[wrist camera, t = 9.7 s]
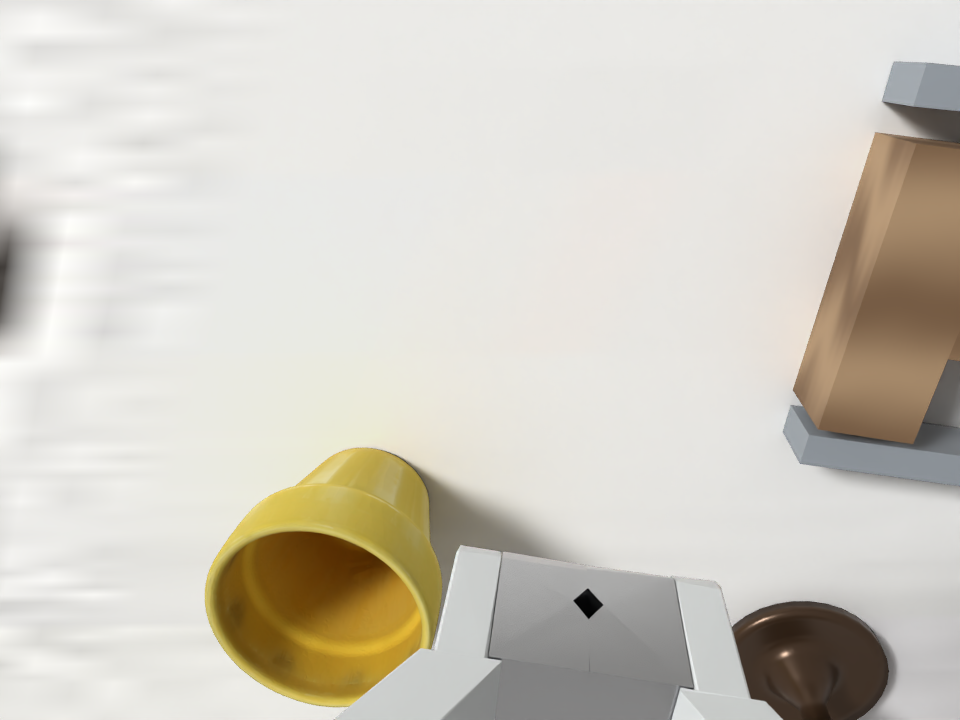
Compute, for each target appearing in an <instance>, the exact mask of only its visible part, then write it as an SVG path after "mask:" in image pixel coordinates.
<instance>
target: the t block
mask: <svg viewBox="0 0 960 720" xmlns="http://www.w3.org/2000/svg"><path fill="white" fill-rule="evenodd" d="M948 359H949V360H956V361H960V143H956V142H948V141H940V140H932V139H924V138H916V137H908V136H900V135H892V134H884V133H876V132H875V135H874V139H873V142H872V145H871V148H870V151H869V154H868V157H867V160H866V164H865V167H864V170H863V173H862V176H861V179H860V182H859V185H858V188H857V192H856V195H855V198H854V201H853V204H852V207H851V210H850V213H849V217H848V220H847V223H846V226H845V229H844V232H843V235H842V238H841V242H840V245H839V248H838V251H837V254H836V257H835V260H834V263H833V266H832V270H831V273H830V276H829V279H828V282H827V285H826V288H825V291H824V295H823V298H822V301H821V304H820V307H819V310H818V313H817V316H816V320H815V323H814V326H813V329H812V332H811V335H810V338H809V341H808V344H807V348H806V351H805V354H804V357H803V360H802V363H801V366H800V369H799V373H798V376H797V379H796V382H795V385H794V388H793V391H794V392H795V394H796V396H797V397H798V399H799V400H800V402H801V404H802V405H803V407H804V408H805V410H806V411H807V413H808V415H809V416H810V418H811V419H812V421H813V422H814V424H815V426H816V427H817V429H818V430H824V431H831V432H837V433H844V434H850V435H857V436H863V437H870V438H876V439H883V440H889V441H896V442H902V443H909V444H913V443H914V441H915V438H916V436H917V433H918V431H919V429H920V426H921V424H922V421H923V419H924V416H925V414H926V412H927V409H928V407H929V404H930V402H931V399H932V397H933V395H934V392H935V390H936V387H937V385H938V382H939V380H940V377H941V375H942V373H943V370H944V368H945V365H946V363H947V360H948Z"/></svg>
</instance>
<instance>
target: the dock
mask: <svg viewBox="0 0 960 720" xmlns="http://www.w3.org/2000/svg"><path fill="white" fill-rule="evenodd" d="M882 101H883V102H889V103H895V104H901V105H907V106H914V107H923V108H933V109H943V110H953V111H960V66H955V65H945V64H934V63H919V62H894V63H893V66H892V69H891V73H890V76H889V79H888V83H887V86H886V89H885V93H884V96H883V99H882ZM783 433H784V435H785V437H786V439H787V441H788V442H789V444H790V446H791V448H792V450H793V452H794V454H795V455H796V457H797V459H798V461H799V463H800V464H806V465H813V466H820V467H827V468H834V469H841V470H849V471H856V472H863V473H870V474H877V475H884V476H891V477H898V478H905V479H912V480H920V481H927V482H934V483H941V484H948V485H955V486H960V428H957V427H949V426H942V425H935V424H927V423H922V424H921V426H920V429H919V431H918V433H917V436H916V438H915V441H914V443H913V444H909V443H902V442H896V441H889V440H883V439H876V438H870V437H863V436H857V435H850V434H844V433H837V432H831V431H824V430H818V429H817V427H816V426H815V424H814V422H813V421H812V419H811V418H810V416H809V415H808V413H807V411H806V410H805V408H804V407H801V406H794V405H791V407H790V410H789V413H788V417H787V420H786V423H785V427H784V430H783Z"/></svg>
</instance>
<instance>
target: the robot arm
mask: <svg viewBox="0 0 960 720" xmlns="http://www.w3.org/2000/svg"><path fill="white" fill-rule="evenodd" d="M501 556H502V562H501ZM500 567H501V569H500ZM334 720H783V719H782V718H781V717H780V716H779V715H778V714H777V713H776V712H775V711H774V710H773V709H772V708H771V707H770V706H769V705H768V704H767V703H766V702H765V701H760V700H754V699H751V697H750V694H749V690H748V686H747V683H746V679H745V675H744V671H743V668H742V664H741V660H740V656H739V653H738V649H737V645H736V642H735V638H734V634H733V630H732V627H731V623H730V619H729V616H728V612H727V608H726V604H725V601H724V597H723V593H722V590H721V587H720V586H719V585H718V584H717V582H716V581H710V580H701V579H693V578H685V577H676V576H671V577H668V576H660V575H653V574H646V573H639V572H631V571H624V570H617V569H609V568H602V567H595V566H587V565H583V564H577V563H571V562H564V561H558V560H552V559H546V558H540V557H534V556H528V555H522V554H516V553H510V552H504V551H503V555H502V553H501V552H500V551H494V550H488V549H482V548H476V547H469V546H463V545H460V547H459V549H458V551H457V553H456V556H455V560H454V565H453V569H452V573H451V578H450V582H449V586H448V591H447V595H446V599H445V604H444V608H443V612H442V617H441V621H440V625H439V630H438V634H437V638H436V643H435V647H434V650H430V649H423V648H420V649H419V650H418V651H417V652H415V653H414V654H413V655H412V656H410V657H409V658H408V659H407V660H406V661H404V662H403V663H402V664H401V665H399V666H398V667H397V668H396V669H395V670H393V671H392V672H391V673H390V674H388V675H387V676H386V677H385V678H384V679H382V680H381V681H380V682H379V683H378V684H376V685H375V686H374V687H373V688H371V689H370V690H369V691H368V692H367V693H365V694H364V695H363V696H362V697H360V698H359V699H358V700H357V701H356V702H354V703H353V704H352V705H351V706H349V707H348V708H347V709H346V710H345V711H343V712H342V713H341V714H340V715H338V716H337V717H336V718H335V719H334Z"/></svg>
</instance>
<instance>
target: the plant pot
mask: <svg viewBox="0 0 960 720" xmlns="http://www.w3.org/2000/svg"><path fill="white" fill-rule="evenodd" d="M441 597H442V577H441V571H440V566H439V563H438V560H437V557H436V555H435V552H434V550H433V548H432V546H431V544H430V521H429V497H428V493H427V490H426V487H425V485H424V483H423V481H422V480H421V478H420V476H419V475H418V474H417V473H416V471H415V470H414V469H413V468H412V467H411V466H409V465H408V464H407V463H406V462H404V461H403V460H401V459H400V458H398V457H397V456H395V455H393V454H390V453H388V452H385V451H382V450H378V449H373V448H353V449H348V450H344V451H341V452H339V453H337V454H335V455H333V456H331V457H330V458H328V459H327V460H326V461H324V462H323V463H322V464H321V465H319V466H318V467H317V468H316V469H315V470H314V471H312V472H311V473H310V474H309V475H308V476H306V477H305V478H304V479H303V480H302V481H301V482H299V483H298V484H297V485H296V486H294V487H290V488H286V489H283V490H281V491H278V492H276V493H274V494H272V495H270V496H268V497H267V498H265V499H264V500H262V501H261V502H260V503H258V504H257V505H256V506H255V507H254V508H253V509H252V510H251V511H250V512H249V513H248V514H247V515H246V516H245V518H244V519H243V520H242V521H241V523H240V524H239V525H238V526H237V528H236V529H235V530H234V532H233V533H232V534H231V536H230V537H229V538H228V540H227V541H226V543H225V544H224V546H223V547H222V549H221V550H220V552H219V553H218V555H217V556H216V558H215V560H214V562H213V564H212V566H211V568H210V570H209V573H208V576H207V581H206V587H205V606H206V613H207V616H208V620H209V623H210V626H211V628H212V631H213V633H214V635H215V637H216V638H217V640H218V642H219V643H220V645H221V646H222V648H223V649H224V651H225V652H226V653H227V654H228V656H229V657H230V658H231V659H232V660H233V661H234V662H235V664H236V665H237V666H238V667H239V668H240V669H242V670H243V671H244V672H245V673H247V674H248V675H249V676H250V677H252V678H253V679H254V680H256V681H257V682H259V683H260V684H262V685H264V686H265V687H267V688H269V689H271V690H273V691H274V692H277V693H279V694H281V695H283V696H286V697H289V698H291V699H294V700H297V701H300V702H304V703H308V704H312V705H318V706H326V707H349V706H351V705H352V704H353V703H354V702H356V701H357V700H358V699H359V698H360V697H362V696H363V695H364V694H365V693H367V692H368V691H369V690H370V689H371V688H373V687H374V686H375V685H376V684H378V683H379V682H380V681H381V680H382V679H384V678H385V677H386V676H387V675H388V674H390V673H391V672H392V671H393V670H395V669H396V668H397V667H398V666H399V665H401V664H402V663H403V662H404V661H406V660H407V659H408V658H409V657H410V656H412V655H413V654H414V653H415V652H417V651H418V650H419V649H420V648H423V649H430V650H431V648H432V644H433V640H434V635H435V631H436V627H437V622H438V617H439V611H440V605H441Z"/></svg>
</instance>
